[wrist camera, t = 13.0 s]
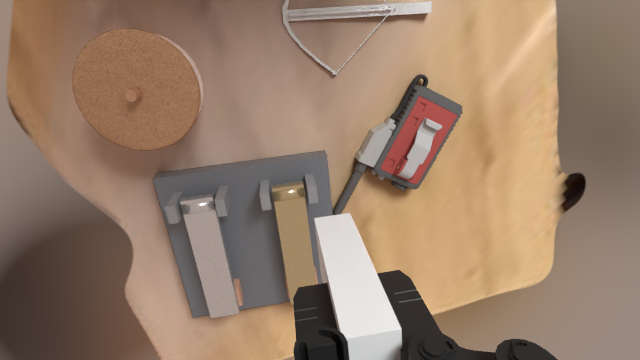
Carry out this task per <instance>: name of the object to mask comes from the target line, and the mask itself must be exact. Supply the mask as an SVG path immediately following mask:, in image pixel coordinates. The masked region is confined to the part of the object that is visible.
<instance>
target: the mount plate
mask: <svg viewBox="0 0 640 360" xmlns="http://www.w3.org/2000/svg"><path fill="white" fill-rule="evenodd" d="M300 181H303V185H304V193H305V201H306V209H307V216H308V224H309V232H310V239H311V247H312V255H313V263H314V270H315V278H316V284H322V283H323V281H322V276H321V270H320V262H319V254H318V246H317V237H316V229H315V221H314V218H318V217H325V216H332V215H333V212H332V202H331V192H330V182H329V172H328V162H327V155H326V153H325V151H317V152H310V153H302V154H295V155H288V156H280V157H273V158H265V159H258V160H250V161H243V162H236V163H228V164H221V165H213V166H206V167H198V168H191V169H184V170H176V171H169V172H161V173H157V174H156V175H155V177H154V178H153V183H154V186H155V189H156V193H157V196H158V200H159V203H160V206H161V210H162V213H163V217H164V220H165V224H166V227H167V230H168V234H169V237H170V241H171V244H172V247H173V251H174V254H175V258H176V261H177V264H178V268H179V271H180V275H181V278H182V282H183V285H184V288H185V292H186V295H187V299H188V302H189V305H190V309H191V312H192V316H193V318H195V317H201V316H207V315H210V313H209V309H208V306H207V302H206V298H205V294H204V291H203V287H202V283H201V279H200V276H199V272H198V268H197V264H196V261H195V257H194V253H193V249H192V246H191V242H190V238H189V234H188V231H187V227H186V223H185V219H184V216H183V213H182V210H181V205H180V200H181V199H182V198H186V197H193V196H200V195H207V194H214V197H215V200H214V201H215V206H216V210H217V214H218V217H219V219H220V223H221V227H222V232H223V236H224V241H225V245H226V249H227V254H228V258H229V263H230V267H231V271H232V276H233V280H234V285H235V289H236V293H237V298H238V302H239V306H240V310H243V309H249V308H255V307H261V306H267V305H273V304H279V303H286V302H290V296H289V290H288V284H287V278H286V272H285V266H284V259H283V253H282V247H281V241H280V235H279V229H278V223H277V217H276V211H275V204H274V198H273V192H272V185H278V184H286V183H293V182H300Z"/></svg>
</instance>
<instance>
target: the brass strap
mask: <svg viewBox="0 0 640 360" xmlns="http://www.w3.org/2000/svg"><path fill="white" fill-rule="evenodd" d="M272 192H273V198H274V204H275V211H276V217H277V223H278V229H279V235H280V241H281V247H282V253H283V259H284V266H285V272H286V278H287V284H288V290H289V296H290V302H291V305H294V303H293V298H294V295H295V293H296V291H297V289H298V287H304V286H310V285H316V278H315V270H314V263H313V255H312V247H311V239H310V232H309V224H308V216H307V209H306V201H305V193H304V185H303V181H300V182H293V183H286V184H278V185H272Z"/></svg>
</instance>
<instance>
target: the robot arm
mask: <svg viewBox="0 0 640 360" xmlns="http://www.w3.org/2000/svg"><path fill="white" fill-rule="evenodd" d="M314 221H315V229H316V237H317V246H318V254H319V262H320V270H321V276H322V281H323V283H322V284H316V285H310V286H304V287H298V289H297V291H296V293H295V295H294V298H293V303H294V316H295V328H296V342H295V346H294V357H295V360H557V359H556V358H555V357H554V356H553V355H551V354H550V353H549V352H548V351H546V350H545V349H543V348H542V347H540V346H538V345H537V344H535V343H532V342H529V341H526V340H521V339H510V340H505V341H503V342H502V343H501V344H499V345H498V346H497V350H496V352H495V353H492V352H482V351H474V350H468V349H465V348H462V347H459V346H458V345H457V344H456V342H455V341H454V340H453V339H451V338H449V337H448V336H446V335H444V334H442V332H441V331H440V329H439V327H438V326H437V324H436V322H435V320H434V319H433V317H432V315H431V313H430V312H429V310H428V308H427V306H426V305H425V303H424V301H423V299H421V296H420V294H419V293H418V291H417V290H416V287H415V286H414V284H413V282H412V280H411V279H410V278H409V277H408V276H407V275H405V274H404V273H403V272H401V271H400V270H396V271H390V272H384V273H378V274H377V273H376V270H375V268H374V266H373V264H372V261H371V259H370V257H369V255H368V252H367V250H366V248H365V246H364V244H363V241H362V239H361V237H360V235H359V232H358V230H357V228H356V226H355V223H354V221H353V219H352V217H351V214H350V213H345V214H339V215H332V216H325V217H318V218H314Z"/></svg>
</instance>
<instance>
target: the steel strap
mask: <svg viewBox="0 0 640 360" xmlns="http://www.w3.org/2000/svg"><path fill="white" fill-rule="evenodd" d="M214 200H215V197H214V194H207V195H200V196H193V197H186V198H182V199H181V200H180V205H181V210H182V213H183V216H184V219H185V223H186V227H187V231H188V234H189V238H190V242H191V246H192V249H193V253H194V257H195V261H196V264H197V268H198V272H199V276H200V279H201V283H202V287H203V291H204V294H205V298H206V302H207V306H208V309H209V313H210V317H211V318H216V317H222V316H228V315H234V314H239V312H240V306H239V302H238V298H237V293H236V289H235V285H234V280H233V276H232V271H231V267H230V263H229V258H228V254H227V249H226V245H225V241H224V236H223V232H222V227H221V223H220V219H219V217H218V214H217V210H216V206H215V201H214Z"/></svg>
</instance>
